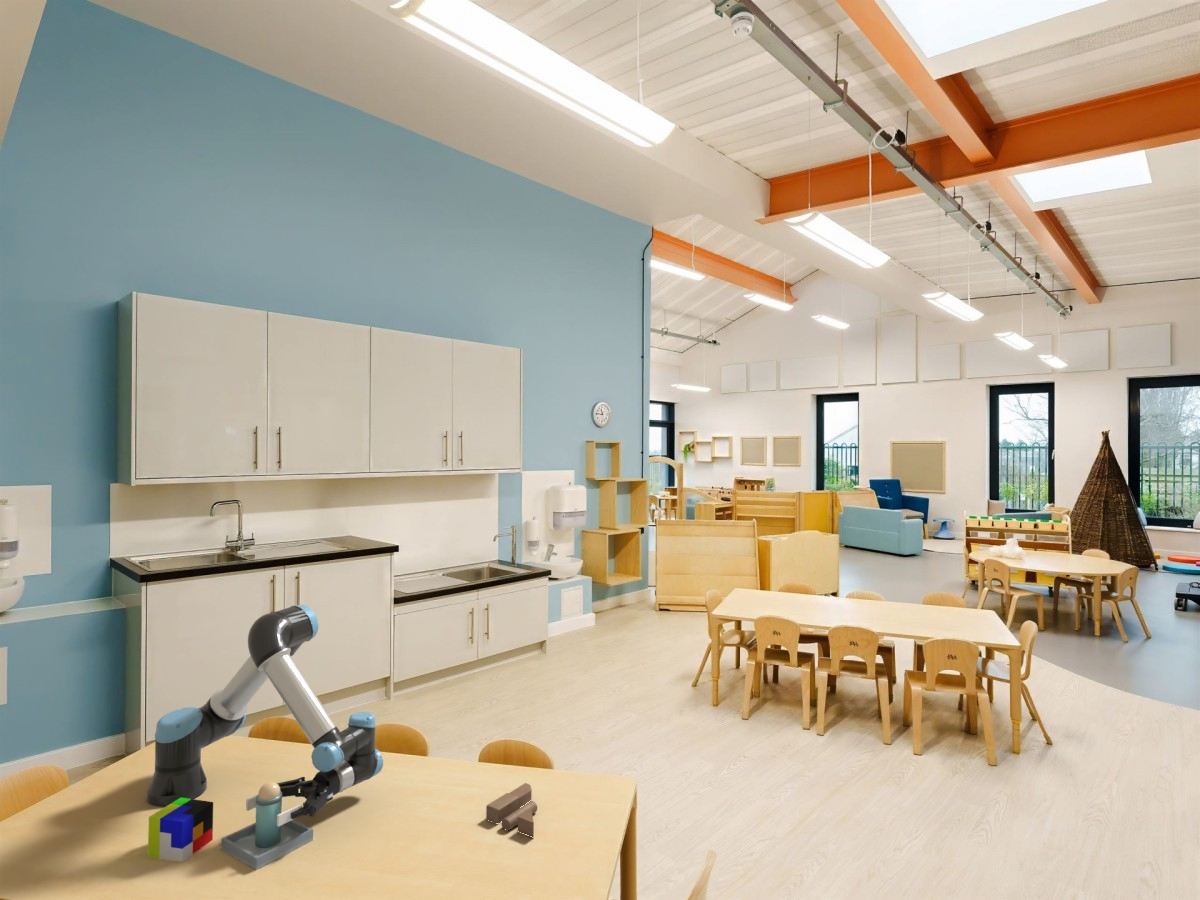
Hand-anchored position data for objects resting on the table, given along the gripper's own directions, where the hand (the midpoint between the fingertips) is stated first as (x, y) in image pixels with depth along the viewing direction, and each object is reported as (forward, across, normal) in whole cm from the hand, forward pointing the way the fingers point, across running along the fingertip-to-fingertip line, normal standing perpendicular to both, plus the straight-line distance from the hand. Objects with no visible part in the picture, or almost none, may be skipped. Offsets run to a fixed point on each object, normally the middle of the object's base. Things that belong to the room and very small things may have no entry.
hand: (261, 813), depth 175 cm
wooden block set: (-51, -47, -10) cm, 70 cm away
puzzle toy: (+11, +17, -9) cm, 22 cm away
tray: (-2, 0, -9) cm, 9 cm away
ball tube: (-2, 0, -8) cm, 9 cm away
